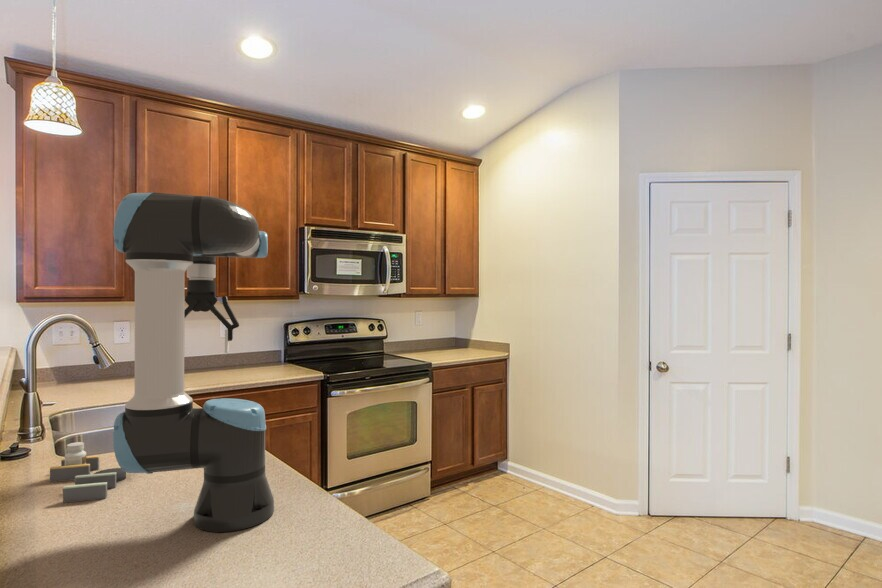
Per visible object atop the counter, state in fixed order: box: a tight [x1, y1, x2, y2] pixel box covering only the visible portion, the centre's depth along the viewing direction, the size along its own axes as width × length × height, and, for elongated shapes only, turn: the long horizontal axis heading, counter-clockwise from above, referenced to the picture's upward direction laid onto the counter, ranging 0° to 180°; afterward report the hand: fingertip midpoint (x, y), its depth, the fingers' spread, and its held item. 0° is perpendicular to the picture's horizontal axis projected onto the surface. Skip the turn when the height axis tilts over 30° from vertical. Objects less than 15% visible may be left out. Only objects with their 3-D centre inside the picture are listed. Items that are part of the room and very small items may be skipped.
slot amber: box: [49, 455, 100, 483], centre depth 127 cm, size 8×8×3 cm
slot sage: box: [62, 472, 117, 503], centre depth 115 cm, size 8×8×3 cm
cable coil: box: [93, 467, 127, 484], centre depth 124 cm, size 7×7×2 cm
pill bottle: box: [64, 441, 87, 466], centre depth 127 cm, size 4×4×8 cm
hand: (201, 353), depth 147 cm, fingers open, 13 cm apart
